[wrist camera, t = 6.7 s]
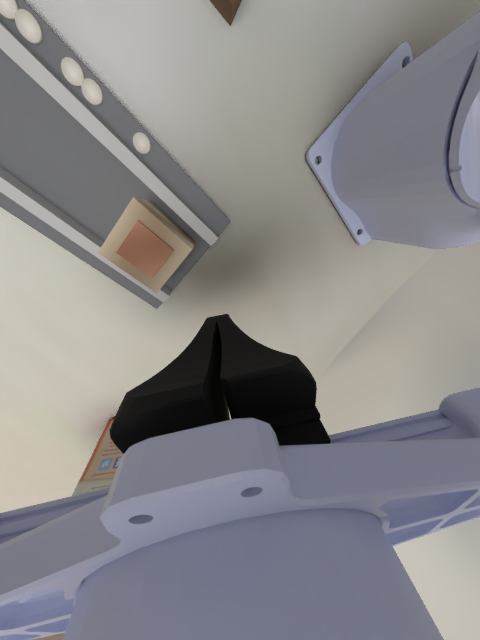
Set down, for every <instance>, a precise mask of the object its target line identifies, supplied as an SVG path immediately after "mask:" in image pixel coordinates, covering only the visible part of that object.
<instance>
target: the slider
mask: <svg viewBox="0 0 480 640" xmlns="http://www.w3.org/2000/svg"><path fill="white" fill-rule="evenodd" d="M195 243H196V242H195V241H194V240H193V239H192V238H191V237H190V236H189V235H188V234H187V233H185V232H184V231H183V230H182V229H181V228H180V227H179V226H178V225H177V224H176V223H174V222H173V221H172V220H171V219H170V218H169V217H168V216H167V215H166V214H165V213H164V212H162V211H161V210H160V209H159V208H158V207H157V206H156V205H155V204H154V203H153V202H151V201H150V200H145V199H140V198H135V197H133V198H132V200H131V201H130V203H129V204H128V206H127V207H126V209H125V211H124V212H123V214H122V215H121V217H120V218H119V220H118V221H117V223H116V225H115V226H114V228H113V229H112V231H111V232H110V234H109V235H108V237H107V239H106V240H105V242H104V243H103V245H102V246H101V248H100V250H99V251H98V253H99V254H100V255H101V256H103V257H104V258H106V259H107V260H109V261H110V262H112V263H113V264H115V265H116V266H117V267H119V268H120V269H122V270H123V271H125V272H126V273H128V274H129V275H130V276H132V277H133V278H135V279H136V280H138V281H139V282H141V283H142V284H143V285H145V286H146V287H148V288H149V289H151V290H152V291H154V292H155V293H157V292H158V291H159V290H160V289H161V288H162V286H163V285H164V284H165V283H166V281H167V280H168V279H169V278H170V276H171V275H172V274H173V273H174V272H175V270H176V269H177V268H178V267H179V265H180V264H181V263H182V262H183V260H184V259H185V258H186V257H187V256H188V254H189V253H190V252H191V251H192V249H193V247H194V245H195Z"/></svg>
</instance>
